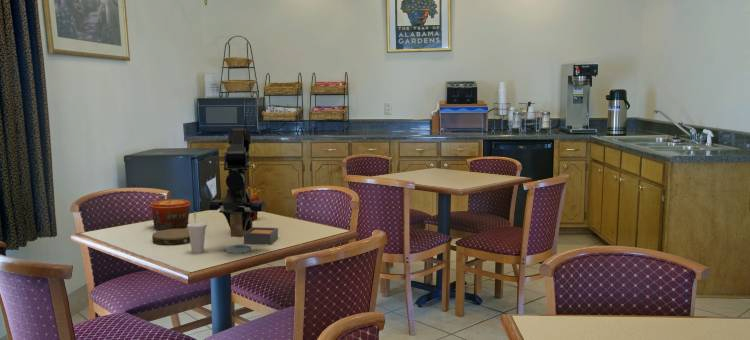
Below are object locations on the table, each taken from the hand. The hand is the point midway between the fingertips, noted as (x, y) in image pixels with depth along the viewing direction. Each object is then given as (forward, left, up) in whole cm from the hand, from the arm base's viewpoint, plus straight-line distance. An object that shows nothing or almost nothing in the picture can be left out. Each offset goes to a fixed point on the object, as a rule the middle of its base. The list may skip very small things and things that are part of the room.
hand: (237, 229), depth 202 cm
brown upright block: (0, 0, -2) cm, 2 cm away
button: (+4, +14, -5) cm, 15 cm away
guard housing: (+4, +14, -7) cm, 16 cm away
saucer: (0, 0, -7) cm, 7 cm away
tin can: (-28, +11, -8) cm, 31 cm away
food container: (-39, +31, -8) cm, 50 cm away
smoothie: (-13, -4, -8) cm, 16 cm away
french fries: (-12, +49, -8) cm, 51 cm away
